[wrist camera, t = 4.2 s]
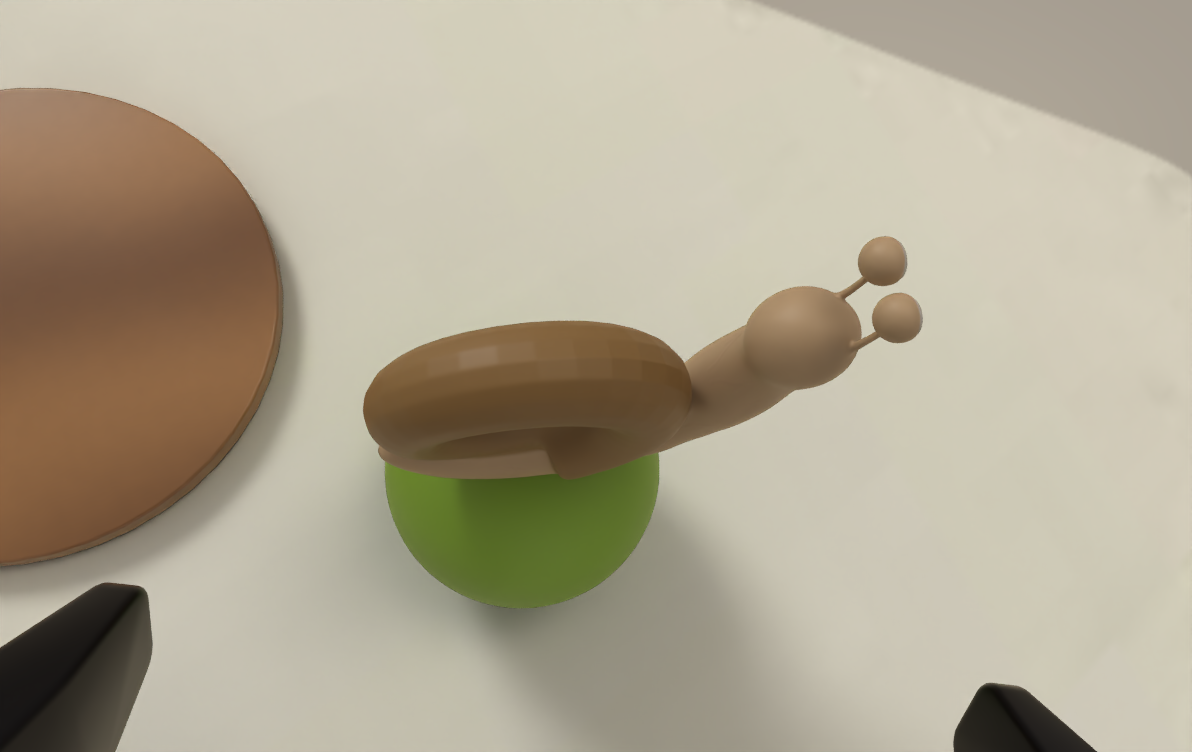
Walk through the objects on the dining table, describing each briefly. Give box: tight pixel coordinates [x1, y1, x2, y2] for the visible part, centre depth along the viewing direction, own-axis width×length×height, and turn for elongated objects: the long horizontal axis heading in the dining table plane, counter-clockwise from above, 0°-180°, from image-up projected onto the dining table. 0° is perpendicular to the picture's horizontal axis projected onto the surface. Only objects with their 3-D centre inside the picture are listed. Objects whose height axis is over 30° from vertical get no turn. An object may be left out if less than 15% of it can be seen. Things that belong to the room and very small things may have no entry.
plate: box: [0, 88, 283, 566], centre depth 19 cm, size 11×11×1 cm
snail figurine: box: [363, 236, 923, 608], centre depth 14 cm, size 5×6×12 cm
